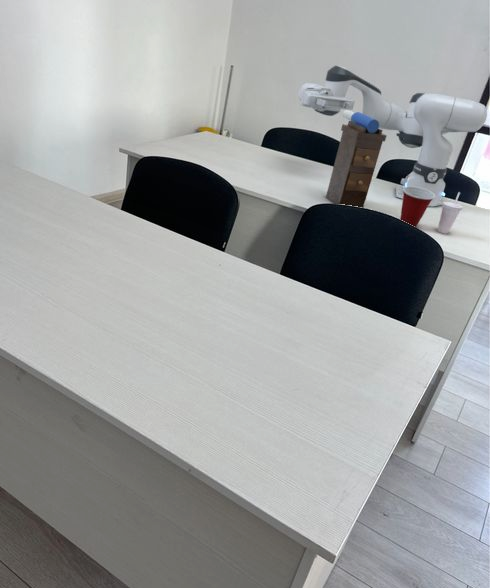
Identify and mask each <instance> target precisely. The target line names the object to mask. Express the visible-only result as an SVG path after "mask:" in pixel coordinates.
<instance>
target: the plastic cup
mask: <svg viewBox="0 0 490 588" xmlns="http://www.w3.org/2000/svg"><path fill="white" fill-rule="evenodd" d="M403 191H404V194H403V199H402V204H401V211H400V217H399V218H400V219H401V220H403V221H405V222H407V223H409V224H411V225H413V226H415V227H414V228H417V227H418V225H419V223H420V221H421V219H422V218H423V216H424V214H425V213H426V211H427V209H428V207H429V206H428V205H429V204H430V202H431V201H432V199H434V197H435V194H434V193H432V192H431V191H429V190H427V189H423V188H420V187H414V186H408V187H404V188H403ZM400 219H399V220H400Z"/></svg>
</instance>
